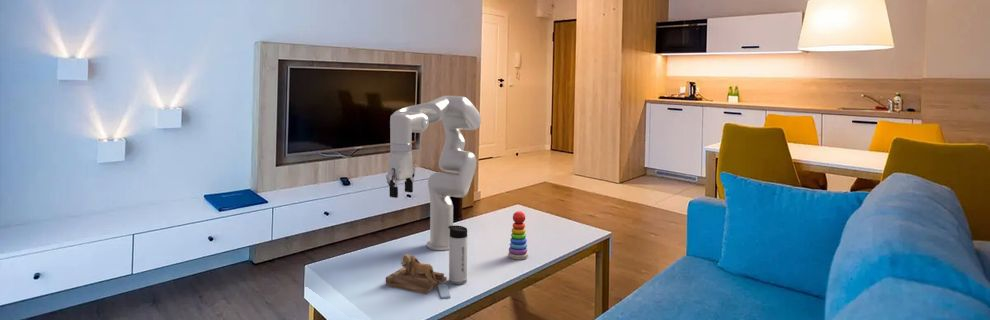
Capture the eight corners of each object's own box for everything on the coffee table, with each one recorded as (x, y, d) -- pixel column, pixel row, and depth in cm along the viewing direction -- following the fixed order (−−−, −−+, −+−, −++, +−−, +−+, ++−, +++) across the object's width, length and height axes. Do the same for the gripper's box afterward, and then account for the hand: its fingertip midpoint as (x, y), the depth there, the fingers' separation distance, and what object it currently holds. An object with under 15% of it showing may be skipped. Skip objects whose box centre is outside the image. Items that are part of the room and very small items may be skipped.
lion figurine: (398, 280, 184) (398, 255, 183) (406, 275, 189) (406, 251, 188) (436, 287, 180) (436, 261, 178) (443, 281, 184) (443, 256, 183)
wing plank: (437, 288, 183) (437, 284, 183) (446, 287, 183) (446, 284, 183) (441, 300, 173) (441, 296, 173) (450, 299, 174) (450, 296, 174)
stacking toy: (531, 258, 213) (533, 212, 210) (515, 261, 209) (517, 215, 206) (520, 252, 220) (521, 208, 217) (504, 255, 215) (505, 210, 212)
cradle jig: (408, 272, 195) (408, 264, 195) (446, 279, 189) (446, 271, 188) (385, 285, 183) (385, 277, 182) (426, 294, 176) (426, 285, 176)
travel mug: (449, 277, 191) (449, 223, 188) (467, 278, 191) (468, 224, 187) (447, 284, 185) (447, 228, 181) (466, 285, 184) (466, 229, 181)
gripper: (405, 144, 201) (405, 189, 203) (378, 150, 185) (378, 198, 188) (422, 146, 198) (422, 191, 201) (396, 151, 182) (396, 200, 185)
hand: (401, 194), depth 194 cm, fingers open, 9 cm apart
